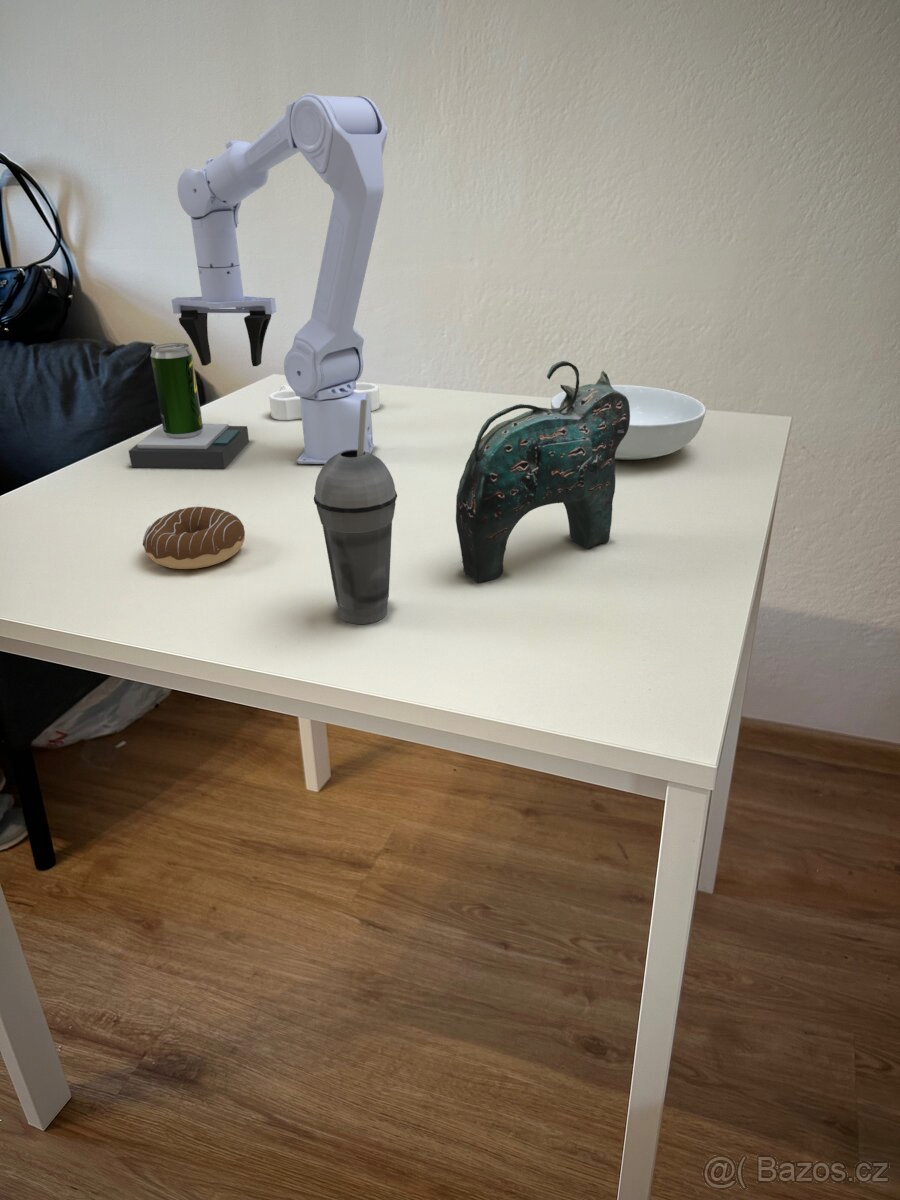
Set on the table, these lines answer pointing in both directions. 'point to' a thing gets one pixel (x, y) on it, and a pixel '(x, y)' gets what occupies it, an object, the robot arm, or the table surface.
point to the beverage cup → (357, 529)
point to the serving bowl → (655, 421)
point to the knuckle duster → (289, 404)
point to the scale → (191, 448)
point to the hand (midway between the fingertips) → (231, 364)
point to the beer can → (177, 390)
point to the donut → (194, 538)
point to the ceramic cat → (542, 472)
